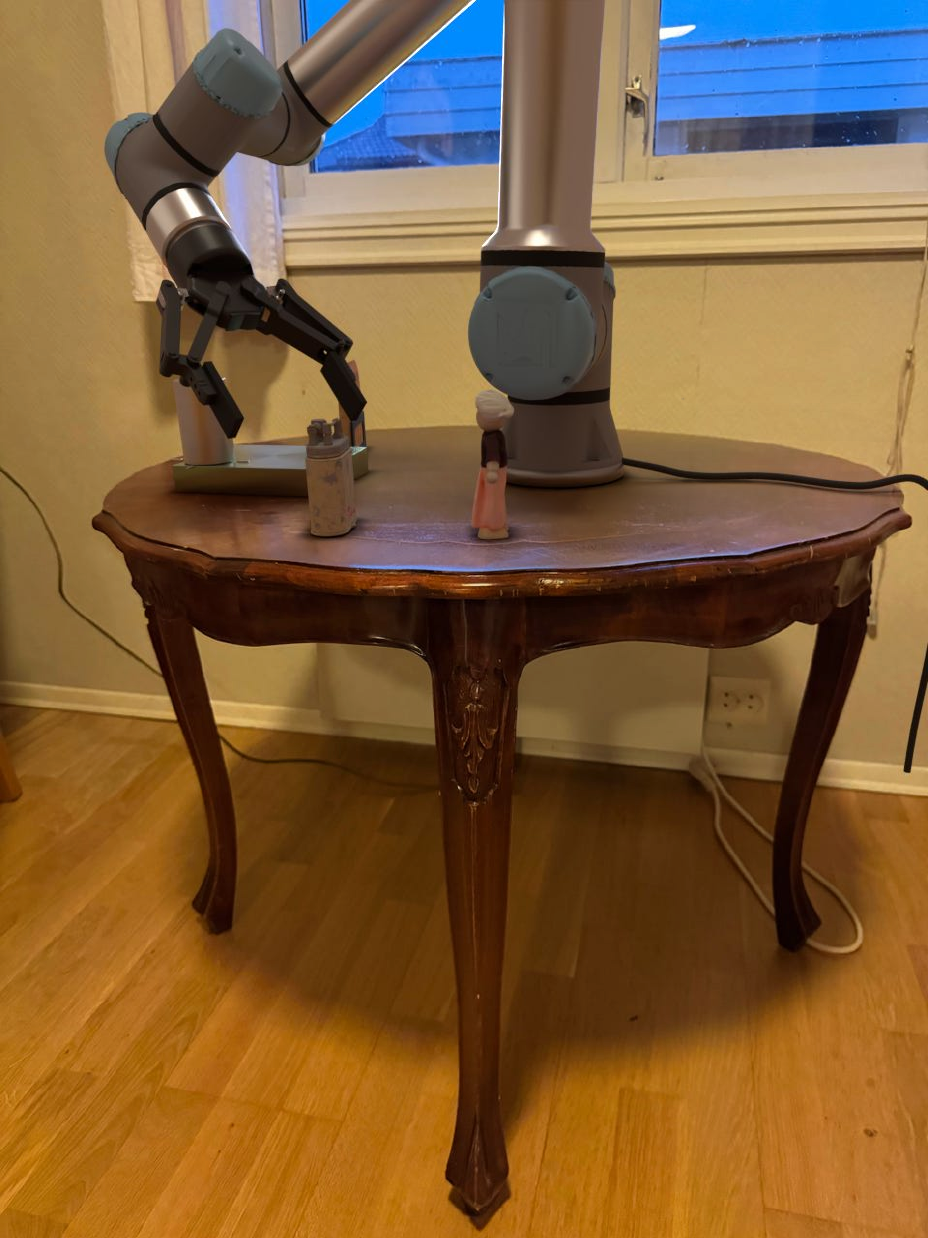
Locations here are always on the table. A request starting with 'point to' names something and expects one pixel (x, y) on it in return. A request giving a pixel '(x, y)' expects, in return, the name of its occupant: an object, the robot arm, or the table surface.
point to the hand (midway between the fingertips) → (301, 420)
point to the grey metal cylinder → (200, 430)
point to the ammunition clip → (353, 428)
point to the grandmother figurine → (491, 466)
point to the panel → (257, 471)
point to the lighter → (329, 479)
